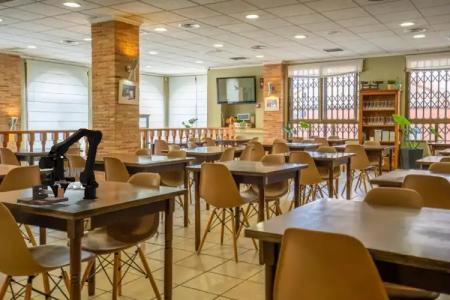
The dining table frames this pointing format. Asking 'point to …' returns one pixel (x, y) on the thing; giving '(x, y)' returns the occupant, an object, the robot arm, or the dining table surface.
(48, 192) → the pin
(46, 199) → the eye board
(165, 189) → the dining table surface
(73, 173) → the goblet set
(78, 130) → the robot arm
